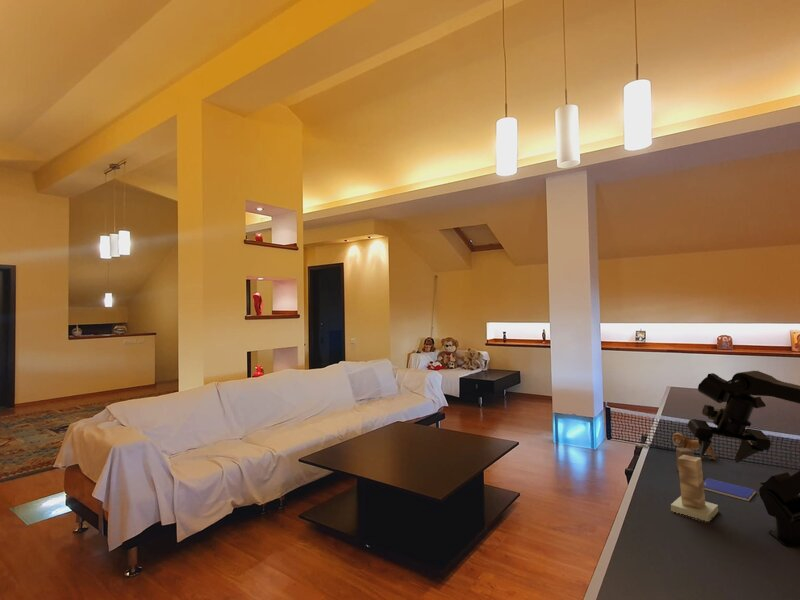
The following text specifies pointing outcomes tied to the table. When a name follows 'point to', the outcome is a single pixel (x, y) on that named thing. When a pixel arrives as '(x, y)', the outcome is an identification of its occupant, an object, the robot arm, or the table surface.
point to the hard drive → (728, 489)
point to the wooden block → (683, 453)
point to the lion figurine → (690, 444)
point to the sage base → (695, 510)
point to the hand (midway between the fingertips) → (718, 458)
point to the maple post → (691, 481)
